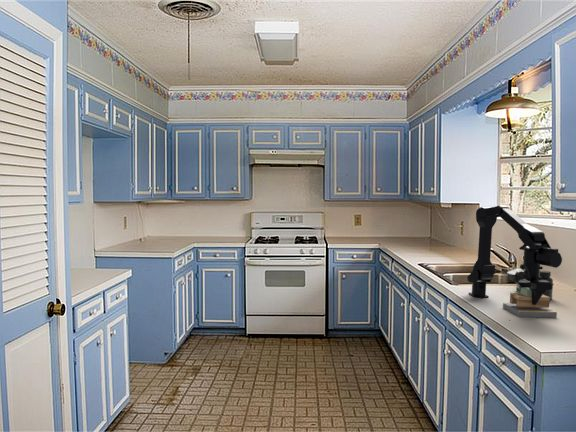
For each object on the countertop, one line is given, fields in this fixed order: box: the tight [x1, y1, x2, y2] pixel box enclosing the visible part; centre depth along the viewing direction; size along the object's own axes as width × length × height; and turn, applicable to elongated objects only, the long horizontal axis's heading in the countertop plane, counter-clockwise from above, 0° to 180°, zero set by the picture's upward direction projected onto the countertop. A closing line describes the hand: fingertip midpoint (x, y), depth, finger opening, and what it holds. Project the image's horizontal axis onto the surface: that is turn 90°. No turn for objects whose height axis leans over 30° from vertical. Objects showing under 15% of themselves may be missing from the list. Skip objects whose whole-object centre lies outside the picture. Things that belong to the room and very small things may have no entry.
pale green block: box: [520, 287, 532, 296], centre depth 165 cm, size 4×5×2 cm
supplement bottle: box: [540, 270, 554, 300], centre depth 188 cm, size 7×7×12 cm
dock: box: [502, 302, 558, 319], centre depth 165 cm, size 12×14×2 cm
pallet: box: [509, 292, 551, 309], centre depth 165 cm, size 6×12×4 cm, turn 91°
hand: (529, 302), depth 165 cm, fingers closed on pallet, 6 cm apart
